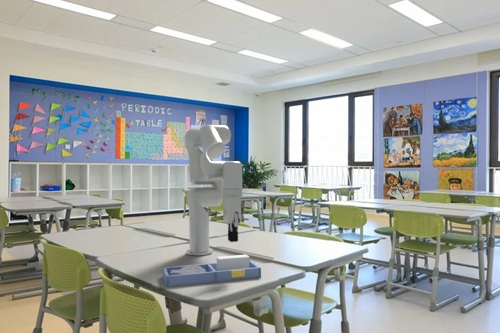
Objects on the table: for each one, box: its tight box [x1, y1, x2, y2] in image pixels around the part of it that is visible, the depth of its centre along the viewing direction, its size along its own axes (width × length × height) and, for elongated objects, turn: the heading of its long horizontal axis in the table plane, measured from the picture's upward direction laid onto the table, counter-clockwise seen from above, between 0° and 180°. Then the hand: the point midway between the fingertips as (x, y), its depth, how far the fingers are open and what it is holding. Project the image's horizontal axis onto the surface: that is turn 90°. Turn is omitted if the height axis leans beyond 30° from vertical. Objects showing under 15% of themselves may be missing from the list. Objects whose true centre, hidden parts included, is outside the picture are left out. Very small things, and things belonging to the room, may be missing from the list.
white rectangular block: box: [216, 254, 250, 271], centre depth 149 cm, size 4×12×7 cm, turn 107°
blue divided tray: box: [162, 259, 262, 287], centre depth 146 cm, size 13×35×4 cm, turn 108°
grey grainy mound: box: [169, 264, 206, 276], centre depth 143 cm, size 12×5×10 cm
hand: (233, 240), depth 149 cm, fingers closed
